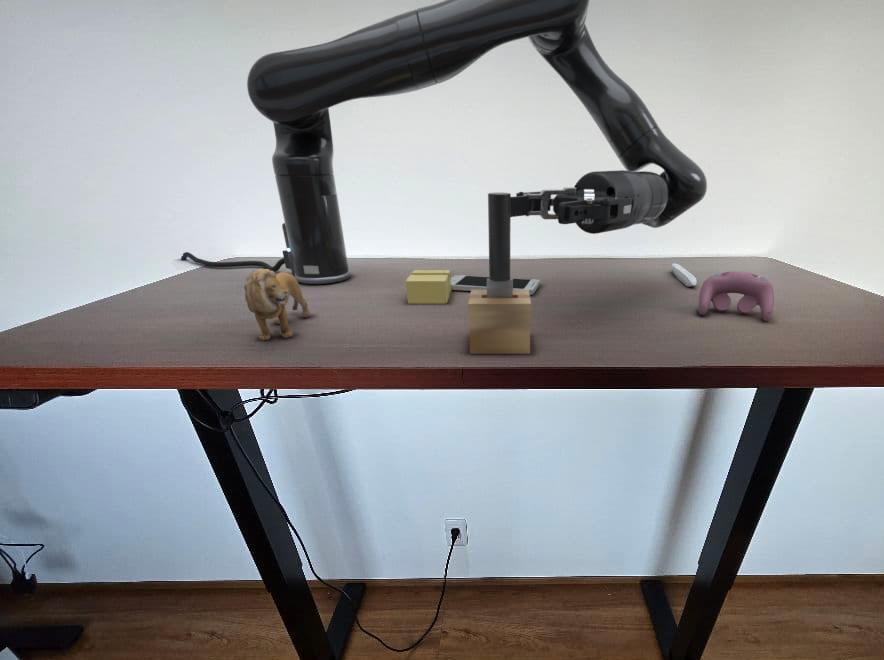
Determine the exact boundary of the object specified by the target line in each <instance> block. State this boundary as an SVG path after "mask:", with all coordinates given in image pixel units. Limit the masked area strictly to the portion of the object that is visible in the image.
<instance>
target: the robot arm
mask: <svg viewBox="0 0 884 660" xmlns="http://www.w3.org/2000/svg"><path fill="white" fill-rule="evenodd" d="M589 6H590V0H443V1H440V2H437V3H434V4H430V5H427V6H422V7H419V8H415V9H413V10H410V11H406V12H404V13H400V14H397V15H394V16H391V17H389V18H386V19H384V20H381V21H378V22H376V23H373V24H370V25H368V26H365V27H363V28H362V27H361V28H359V29H357V30H354V31H352V32H349V33H347V34H346V35H344V36H341V37H339V38H337V39H333V40H331V41H328V42H324V43H320V44H315V45H310V46H306V47H300V48H294V49H289V50H282V51H277V52H270V53H267V54H265V55H262V56H260V57H259V58H257V59H256V61H255V62H254V63H253V64H252V66H251V68H250V69H249V72H248V75H247V80H246V87H247V93H248V97H249V100H250V102H251V103H252V106H254V108H255V109H256V110H257V111H258V112H259V114H261V115H262V116H263V117H265V118H266V119H267V120H269V121H270V122H272V123H273V129H274V136H275V149H274V152H273V154H272V157H271V162H272V168H273V174H274V178H275V183H276V188H277V193H278V196H279V203H280V206H281V211H282V217H283V221H284V222H283V223H282V224H281V228H282V232H283V238H284V242H285V246H286V247H285V248H286V249H285V250H282V258H280V259H279V260H277V262H276V263H275V264H274V265H273V266H272V265H270V264H269V263H268V262H265V261H262V260H261V261H259V260H242V261H241V260H240V261H211V260H210V261H209V260H205V259H203V258H198V257H196V256H195V255H194V254H192V253H191V252H188V251H186V252H183V253H182V255H183V256H182V255H181V257H180V261H187V258H188V259H190V260H191V261H192V262H194V263H197V264H200V265H203V266H206V267H212V268H238V267H239V268H240V267H263V269H269V270H270V271H273V272H275V273H276V272H278V271H279V270H280V268H281V267H282V266H283V265H284V266H285V269H289V270H291V275H293V276H294V277H295V278H296V280H297V282H298V284H299V283H300V284H305V285H324V284H325V285H327V284H333V283H334V284H335V283H338V282H339V283H340V282H343V281H346V280H348V279H349V278H350V277H351V273H350V269H349V265H348V264H349V263H348V257H347V249H346V245H345V244H346V243H345V238H344V237H345V236H344V230H343V225H342V219H341V218H342V217H341V211H340V205H339V199H338V192H337V187H336V180H335V179H336V178H335V172H334V165H333V163H334V161H333V160H334V141H333V134H332V133H333V132H332V126H331V125H332V124H331V116H330V108H332V107H335V106H337V105H340V104H343V103H346V102H349V101H350V102H351V101H353V100H359V99H367V98H368V99H369V98H379V97H389V96H396V95H403V94H408V93H411V92H415V91H419V90H422V89H426V88H429V87H433V86H435V85H438V84H439V85H440V84H443V83H444V82H447V81H448V80H451V79H453V78H455V77H457V76H458V75H460V74H461V73H462V72H464V71H465V70H467V69H468V68H469V67H470V66H472V64H474V63H476V62H477V61H478V60H479V59H481V58H482V57H483V56H485V55H486V54H488V53H489V52H490V51H492V50H494V49H495V48H498V47H500V46H503V45H504V44H507V43H510V42H514V41H518V40H521V39H525V38H527V40H528V41H529V43H530V44H531V46H532V47H533V48H534V49H535V50H536V51H537V53H538V54H539V55H540V56H541V57H542V59H544V60H545V61H546V63H547V64H548V65H549V66H550V67H551V68H552V69H553V70H554V71H555V72H556V74H557V75H559V77H560V78H561V80H563V81H564V83H565V84H566V85H567V86H568V87H569V89H570V90H571V91H572V93H573V94H574V95H575V96H576V97H577V99H578V100H579V101H580V103H581V104H582V105H583V107H584V108H585V109H586V111H587V112H588V114H589V115H590V116H591V118H592V120H593V121H594V123H595V124H596V126H597V127H598V129H599V130H600V132H601V133H602V135H603V136H604V138H605V140H606V142H607V143H608V145H609V146H610V148H611V149H612V151H613V152H614V154H615V155H616V157H617V159H618V160H619V161H620V163H621V165H622V166H623V168H624V169H625V170H623V169H621V170H600V171H590V172H587V173H586V174H584V175H583V176H581V177H580V178H579V179H578V180H577V182H576V183H575V184H574V186H573V187H570V186H569V187H567V186H566V187H565V186H564V187H563V188H561V189H542V190H540V191H526V192H523V191H519V192H516V193H515V194H516V195H515V196H511V218H517V217H522V216H523V217H524V216H525V217H530V216H539V217H540V218H541V219H543V220H557V222H558V224H560V225H570V224H575V225H576V226H577V227H578V229H580V230H581V231H583V232H585V233H588V234H591V235H596V234H601V233H602V234H603V233H607V232H613V231H618V230H624V229H627V228H631V226H637V225H644V226H648V227H649V228H652V229H653V228H654V229H659V228H661V227H664V226H666V225H668V224H669V223H671V222H673V221H674V220H676V219H677V218H678V217H680V216H681V215H684V213H685V212H687V211H689V210H690V209H691V208H693V207H694V206H695V205H697V204H699V203H700V202H701V201H702V200H703V199H704V198H705V197H706V195H707V190H708V182H707V177H706V174H705V172H704V171H703V169H702V167H700V166H699V165H698V164H697V163H696V162H695V161H693V159H691V158H690V157H689V156H688V155H686V154H685V153H684V152H682V150H681V149H679V148H678V147H677V146H676V145H675V144H674V143H673V142H672V141H671V140H670V139H669V138H668V137H667V136H666V134H664V132H663V131H662V129H661V128H660V126H659V125H658V123H657V122H656V119H655V118H654V116H653V115H652V113H651V112H650V110H649V109H648V107H647V105H646V104H645V102H644V100H643V99H642V98H641V97H640V96H639V95H638V93H637V92H636V91H635V90H634V89H633V88H632V87H631V86H630V85H629V84H628V83H627V82H626V81H624V80H623V79H622V78H621V77H619V75H618V74H616V73H615V72H614V70H612V69H611V68H610V66H609V65H608V64H607V63H606V62H605V60H604V59H603V58H602V56H601V55H600V53H599V51H598V50H597V48H596V46H595V44H594V42H593V38H592V37H591V34H590V32H589V30H588V27H587V25H586V19H587V17H588V16H587V15H588V10H589ZM650 165H655V166H657V167H660V168H661V169H662V170H663V171H662V172H661V173H657V172H654V171H647V170H646V171H645V170H644V171H643V169H644V168H646V167H648V166H650ZM640 170H642V171H640ZM552 195H553V196H554V197H552ZM551 207H552V211H553V213H549V212H550V211H551Z"/></svg>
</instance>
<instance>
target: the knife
mask: <svg viewBox="0 0 884 660" xmlns="http://www.w3.org/2000/svg"><path fill="white" fill-rule="evenodd" d="M511 197H512V195H511V192H488V193H487V208H488V209H487V211H488V212H487V215H488V216H487V218H488V219H487V220H488V222H487V224H488V273H489V274H488V277H489V279H487V298H513V279H510V278H511V225H512V224H511V221H512V220H511V219H512V217H511Z"/></svg>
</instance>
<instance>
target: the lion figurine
mask: <svg viewBox="0 0 884 660" xmlns="http://www.w3.org/2000/svg"><path fill="white" fill-rule="evenodd" d="M245 280H246V281H245V283H244V286H243V288H244V291H245V297H244V298H245V303H246V306H247V308H248V310H249V311H250V312H251V313H253V314H254V316H255V320H256V322H257V324H258V328H259V329H260V331H261V334H260V335H259V336H258V338H259V340H261V341H267V340H270V338H271V332H270V330H269V327H268V324H267V320H272V319H274V320H273V323H274V324H276V325H279V329H280V334H281V336H282V337H283V338H284V339H287V338H292V337H293V336H294V334H293V332H292V331H291V328H290V326H289V321H288V320H289V318H288V317H289V316H288V312H287V308H286V306H287V304H288V302H289V298H290V296H291V297H292V298H293V305H292V306H291V307H292V311H298V306H299V305H300V306H301V309H302V311H301V313H300V314H301V315H300V316H301V317H302V318H310V316H311V313H310V310H309V308H308V302H307V301H306V299H305V298H304V297H303V294H302V289H301V285H300V284H299V282H297V280H296V278H295V277H294V276H293V275H292V273H288V272H284V271H281V272H278V273H276V271H275V272H273V271H270V270H269V269H266V268H258V269H256V270H253V271H252V272H250V273H249V274H248V275H247V276H246V279H245Z"/></svg>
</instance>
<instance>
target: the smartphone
mask: <svg viewBox="0 0 884 660" xmlns="http://www.w3.org/2000/svg"><path fill="white" fill-rule="evenodd" d="M487 279H489V276H478V275H464V274H463V275H462V274H461V275H460V274H456V275H454V276H452V277H451V291H465V292H471V290H487ZM510 279H513V290H529V294H530V296H531V295H534V294H535V292H536V291H537V289H538V288H539V286H541V285H540V283H541V280H540V279H535V278H533V279H532V278H517V277H516V278H515V277H510Z"/></svg>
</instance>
